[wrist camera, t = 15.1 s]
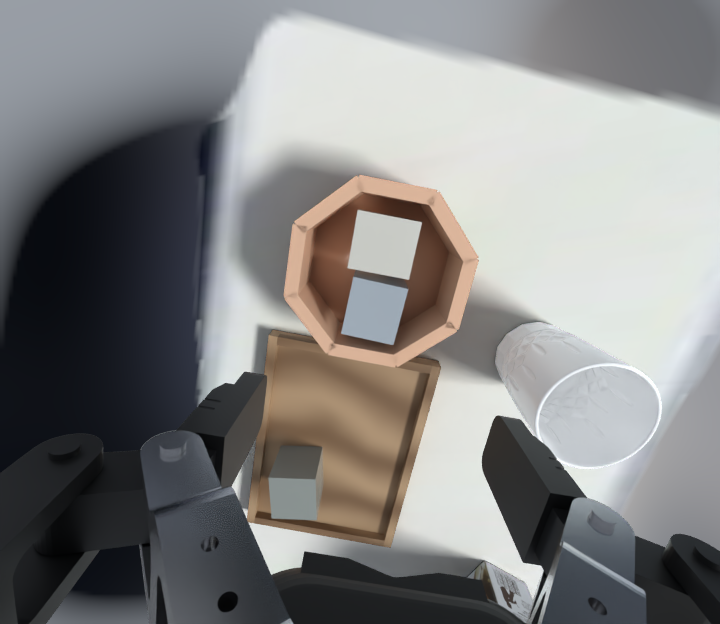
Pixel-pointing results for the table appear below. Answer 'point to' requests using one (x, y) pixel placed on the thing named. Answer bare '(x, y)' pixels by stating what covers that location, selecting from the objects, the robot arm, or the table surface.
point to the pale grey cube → (384, 244)
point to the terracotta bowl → (334, 279)
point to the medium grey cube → (296, 483)
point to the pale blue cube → (375, 307)
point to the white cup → (577, 396)
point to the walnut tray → (342, 435)
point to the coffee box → (504, 589)
